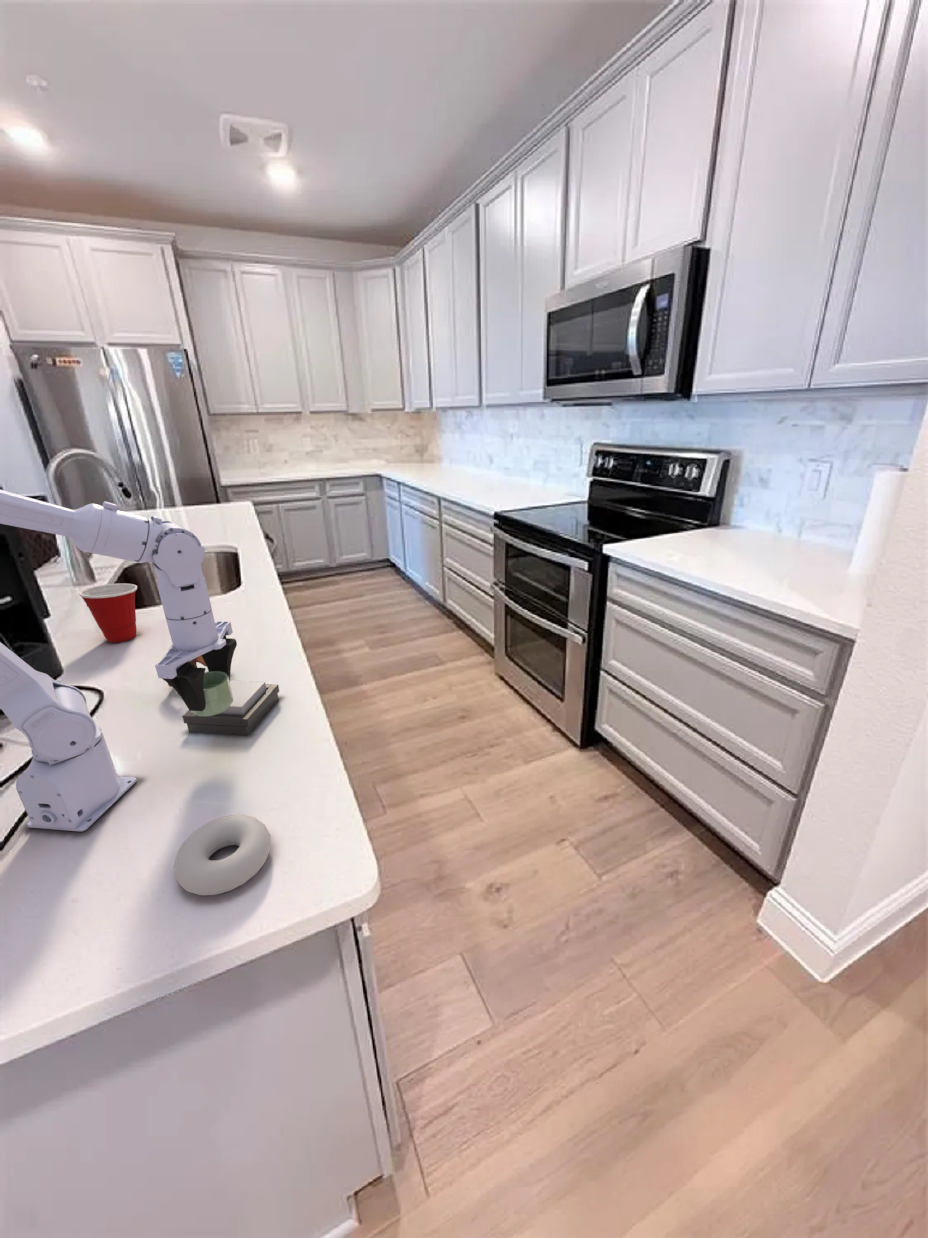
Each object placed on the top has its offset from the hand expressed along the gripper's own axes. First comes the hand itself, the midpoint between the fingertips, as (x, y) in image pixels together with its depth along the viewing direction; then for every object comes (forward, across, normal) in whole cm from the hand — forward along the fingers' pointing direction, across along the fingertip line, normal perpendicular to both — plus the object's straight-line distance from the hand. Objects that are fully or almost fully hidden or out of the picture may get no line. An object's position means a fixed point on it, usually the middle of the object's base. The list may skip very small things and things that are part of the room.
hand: (210, 697), depth 75 cm
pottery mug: (+9, +18, +14) cm, 25 cm away
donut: (+9, -20, -13) cm, 26 cm away
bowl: (+2, 0, 0) cm, 2 cm away
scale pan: (+6, +8, +2) cm, 11 cm away
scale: (+9, +8, +2) cm, 12 cm away
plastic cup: (+9, +36, +46) cm, 59 cm away
